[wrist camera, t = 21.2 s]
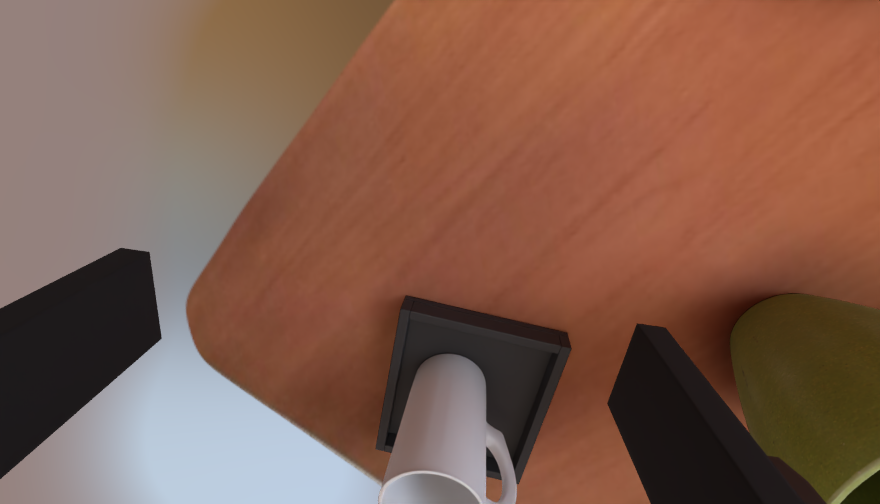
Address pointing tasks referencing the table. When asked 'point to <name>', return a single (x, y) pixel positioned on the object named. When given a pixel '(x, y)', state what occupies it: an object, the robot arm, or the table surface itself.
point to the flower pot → (814, 390)
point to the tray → (496, 354)
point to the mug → (446, 440)
